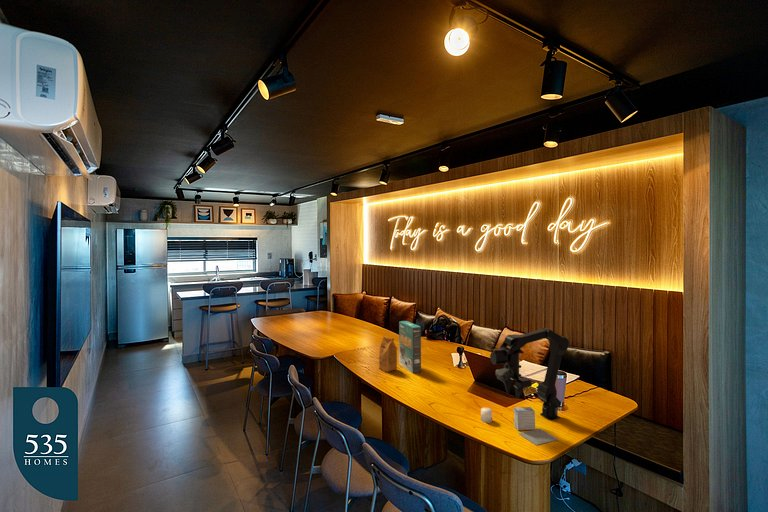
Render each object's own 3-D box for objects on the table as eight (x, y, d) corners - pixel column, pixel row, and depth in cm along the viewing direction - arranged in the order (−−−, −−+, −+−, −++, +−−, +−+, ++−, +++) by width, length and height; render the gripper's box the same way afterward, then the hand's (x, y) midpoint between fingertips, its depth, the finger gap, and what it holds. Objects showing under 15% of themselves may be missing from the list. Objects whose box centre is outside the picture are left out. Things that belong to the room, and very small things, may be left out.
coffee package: (388, 365, 255) (388, 334, 255) (398, 370, 245) (398, 337, 244) (376, 367, 250) (376, 335, 250) (386, 373, 239) (386, 339, 239)
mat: (540, 429, 164) (540, 428, 164) (558, 440, 155) (558, 439, 155) (518, 434, 160) (518, 433, 160) (535, 445, 151) (535, 444, 151)
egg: (487, 417, 176) (487, 406, 176) (494, 421, 172) (494, 411, 172) (478, 418, 174) (478, 408, 174) (485, 423, 170) (485, 412, 170)
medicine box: (531, 425, 167) (530, 406, 168) (535, 430, 163) (535, 410, 163) (514, 426, 167) (513, 407, 167) (518, 430, 163) (517, 410, 163)
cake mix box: (420, 372, 241) (421, 326, 240) (412, 373, 239) (412, 327, 238) (406, 362, 261) (406, 320, 261) (399, 363, 259) (399, 321, 259)
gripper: (486, 359, 178) (486, 391, 178) (512, 370, 160) (512, 406, 160) (504, 356, 182) (504, 387, 182) (532, 367, 164) (532, 402, 165)
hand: (512, 395), depth 172 cm, fingers open, 6 cm apart
